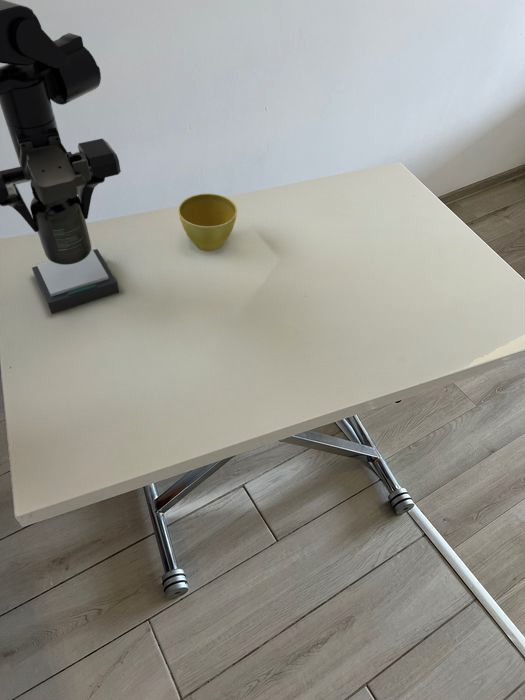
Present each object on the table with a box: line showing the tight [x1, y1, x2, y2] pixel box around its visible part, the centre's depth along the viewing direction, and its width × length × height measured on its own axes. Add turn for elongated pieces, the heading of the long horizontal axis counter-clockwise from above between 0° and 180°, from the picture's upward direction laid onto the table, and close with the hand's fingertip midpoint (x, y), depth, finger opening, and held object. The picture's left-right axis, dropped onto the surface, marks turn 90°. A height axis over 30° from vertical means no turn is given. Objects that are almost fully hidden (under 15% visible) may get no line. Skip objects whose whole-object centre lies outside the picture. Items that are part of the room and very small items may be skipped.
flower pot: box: [178, 193, 238, 252], centre depth 94 cm, size 10×10×7 cm
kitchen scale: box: [31, 248, 120, 315], centre depth 87 cm, size 11×10×3 cm
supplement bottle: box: [29, 181, 92, 265], centre depth 76 cm, size 7×7×12 cm
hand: (60, 224), depth 77 cm, fingers closed on supplement bottle, 7 cm apart
